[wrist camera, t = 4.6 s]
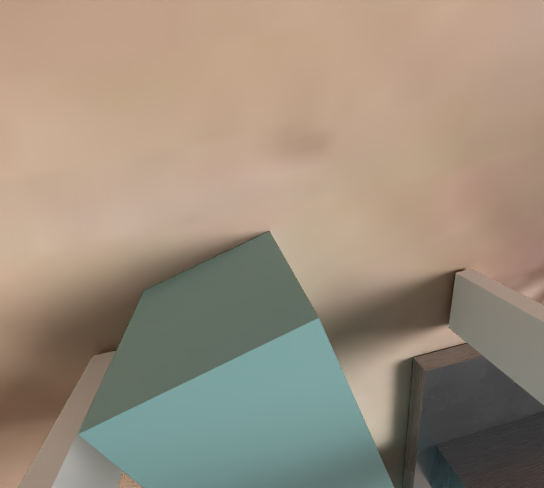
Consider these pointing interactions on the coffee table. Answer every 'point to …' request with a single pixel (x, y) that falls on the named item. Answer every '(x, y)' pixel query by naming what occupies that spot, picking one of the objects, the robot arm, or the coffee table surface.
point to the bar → (232, 385)
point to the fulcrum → (471, 425)
